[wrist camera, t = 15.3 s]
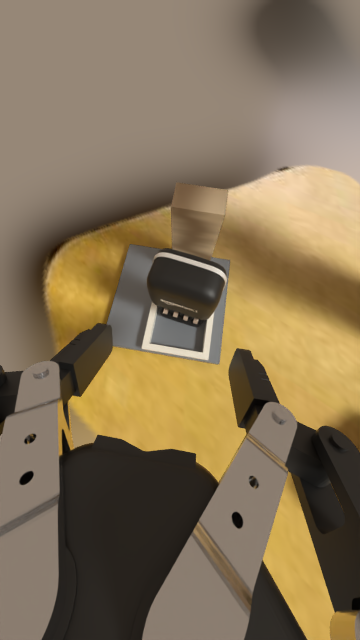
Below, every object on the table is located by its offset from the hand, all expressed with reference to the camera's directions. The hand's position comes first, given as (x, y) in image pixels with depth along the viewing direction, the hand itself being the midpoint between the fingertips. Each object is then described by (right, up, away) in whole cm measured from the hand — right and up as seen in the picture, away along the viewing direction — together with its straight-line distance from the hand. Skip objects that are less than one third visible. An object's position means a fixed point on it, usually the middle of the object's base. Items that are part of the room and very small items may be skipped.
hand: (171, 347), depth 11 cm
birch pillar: (+2, +10, +16) cm, 19 cm away
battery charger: (+1, +2, +14) cm, 14 cm away
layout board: (-1, +4, +15) cm, 16 cm away
